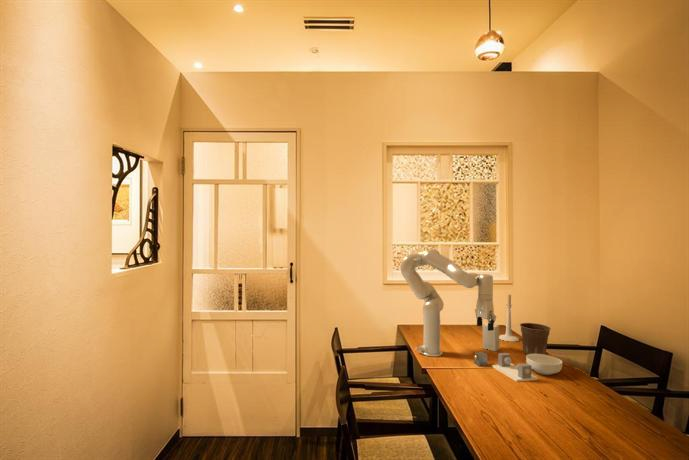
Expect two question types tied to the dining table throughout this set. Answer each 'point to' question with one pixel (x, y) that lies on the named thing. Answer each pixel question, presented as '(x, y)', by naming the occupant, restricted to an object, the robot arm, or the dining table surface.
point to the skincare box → (491, 338)
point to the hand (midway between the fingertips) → (484, 328)
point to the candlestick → (508, 325)
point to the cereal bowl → (544, 363)
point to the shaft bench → (513, 369)
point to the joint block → (480, 359)
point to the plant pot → (534, 338)
